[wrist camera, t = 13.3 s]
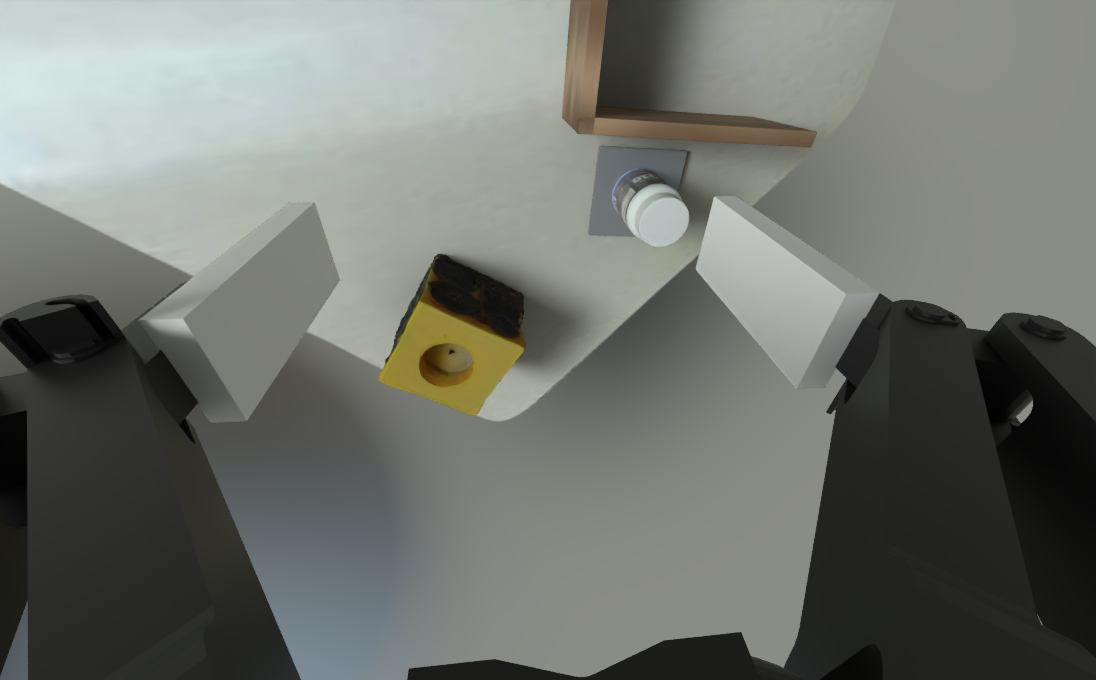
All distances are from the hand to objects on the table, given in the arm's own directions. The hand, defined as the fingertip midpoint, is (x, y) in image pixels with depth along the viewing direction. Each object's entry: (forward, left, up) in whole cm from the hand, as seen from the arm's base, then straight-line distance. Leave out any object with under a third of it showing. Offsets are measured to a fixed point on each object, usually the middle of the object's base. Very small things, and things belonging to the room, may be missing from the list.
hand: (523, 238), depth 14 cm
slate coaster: (+5, +12, -26) cm, 29 cm away
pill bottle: (+5, +12, -25) cm, 28 cm away
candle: (+18, -5, -26) cm, 32 cm away
